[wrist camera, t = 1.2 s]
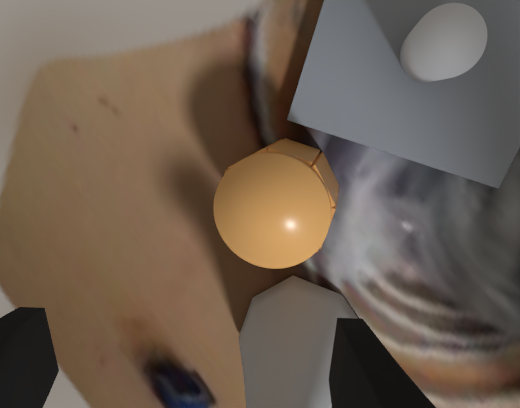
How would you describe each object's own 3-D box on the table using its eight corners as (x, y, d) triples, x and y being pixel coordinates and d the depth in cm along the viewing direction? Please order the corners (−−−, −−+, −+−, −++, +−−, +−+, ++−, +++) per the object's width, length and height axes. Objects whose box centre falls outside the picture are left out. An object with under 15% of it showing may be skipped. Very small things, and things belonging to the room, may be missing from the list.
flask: (220, 333, 24) (134, 485, 15) (290, 252, 21) (241, 371, 12) (312, 407, 24) (285, 609, 14) (394, 333, 21) (425, 519, 12)
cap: (350, 159, 19) (348, 177, 15) (317, 246, 21) (307, 285, 17) (257, 128, 20) (230, 137, 16) (232, 215, 22) (201, 244, 17)
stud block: (598, -26, 15) (690, -74, 11) (490, 184, 18) (532, 210, 14) (354, -85, 17) (353, -148, 12) (290, 118, 19) (272, 124, 15)
